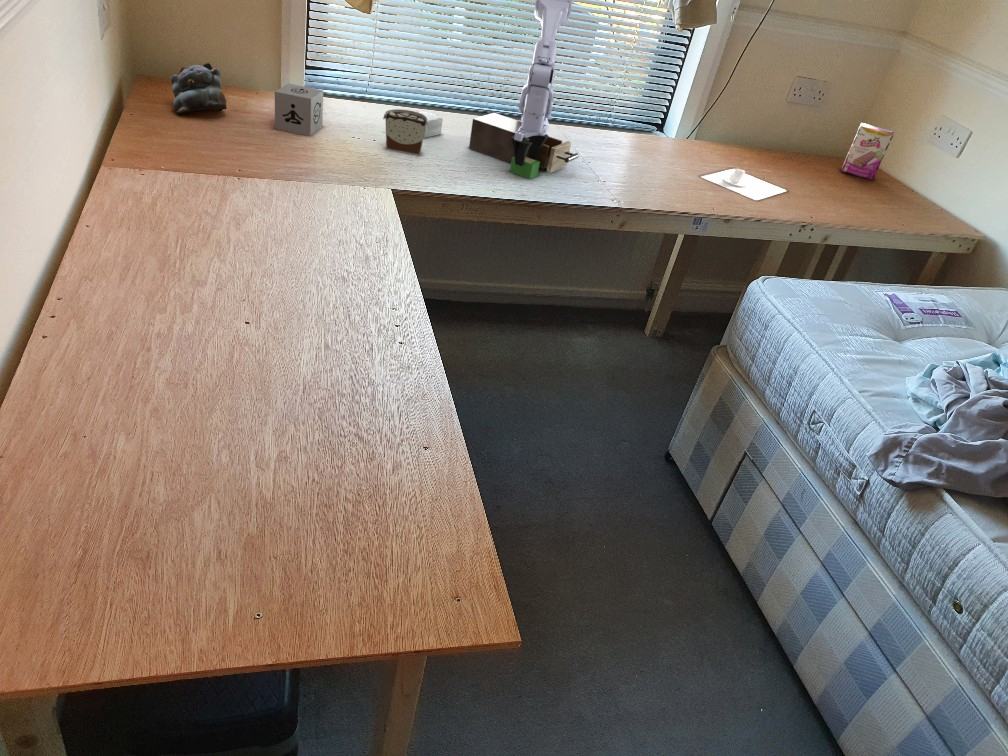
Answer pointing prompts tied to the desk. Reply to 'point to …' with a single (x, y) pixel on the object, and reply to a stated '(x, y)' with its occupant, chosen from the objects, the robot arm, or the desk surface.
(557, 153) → the drawer
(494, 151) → the cabinet
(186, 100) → the lucky cat figurine
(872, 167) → the candy bar box
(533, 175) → the green block
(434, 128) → the small box
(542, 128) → the robot arm
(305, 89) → the icon cube
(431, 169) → the desk surface
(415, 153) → the panettone cake
